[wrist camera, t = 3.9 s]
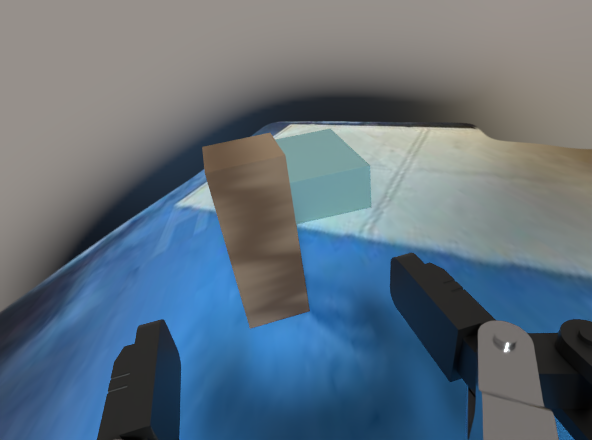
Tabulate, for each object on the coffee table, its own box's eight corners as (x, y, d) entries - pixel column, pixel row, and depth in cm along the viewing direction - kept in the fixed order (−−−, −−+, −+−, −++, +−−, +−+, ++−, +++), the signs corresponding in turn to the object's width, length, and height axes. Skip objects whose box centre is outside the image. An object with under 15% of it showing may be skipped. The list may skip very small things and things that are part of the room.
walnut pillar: (294, 273, 29) (270, 132, 23) (309, 311, 26) (285, 155, 19) (242, 288, 29) (202, 147, 22) (250, 328, 25) (204, 172, 19)
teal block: (333, 164, 48) (330, 128, 45) (371, 209, 37) (370, 165, 34) (238, 185, 47) (229, 149, 44) (247, 238, 36) (236, 194, 33)
